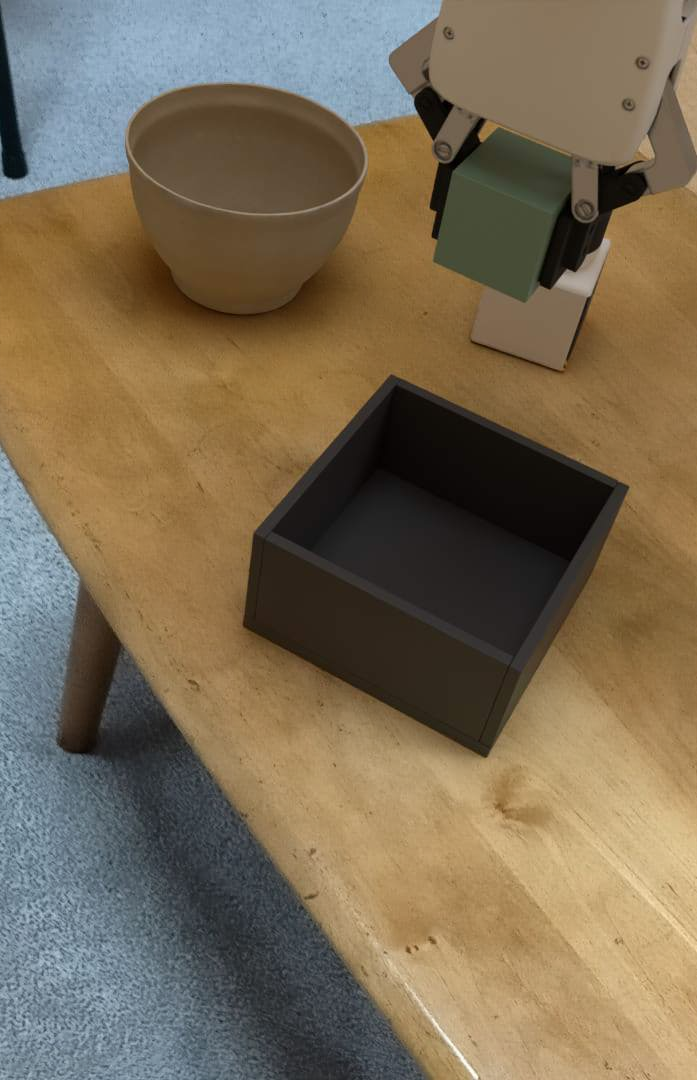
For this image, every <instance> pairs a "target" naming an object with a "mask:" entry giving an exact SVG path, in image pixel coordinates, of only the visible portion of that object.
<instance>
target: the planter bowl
mask: <svg viewBox="0 0 697 1080" xmlns="http://www.w3.org/2000/svg"><path fill="white" fill-rule="evenodd" d="M124 149H125V156H126V159H127V163H128V170H129V180H130V187H131V193H132V198H133V202H134V206H135V209H136V213H137V216H138V218H139V220H140V223H141V225H142V227H143V230H144V232H145V234H146V236H147V238H148V240H149V241H150V244H151V245H152V247H153V248H154V250H155V251H156V253H157V254H158V256H159V257H160V258H161V260H162V261H163V262H164V264H165V265H166V266H167V267H168V268H169V269H170V274H171V277H172V279H173V280H172V281H174V284H175V285H176V287H178V289H179V290H180V291H181V293H182V294H184V295H185V296H186V297H188V298H189V299H190V300H191V301H194V302H195V303H197V304H199V305H201V306H203V307H205V308H208V309H211V310H213V311H217V312H221V313H227V314H233V315H254V314H262V313H266V312H267V313H268V312H270V311H274V310H277V309H279V308H281V307H283V306H284V305H287V304H289V302H291V301H292V300H293V299H294V298H295V297H296V296H297V294H298V293H299V291H300V290H301V287H302V285H303V284H304V283H305V282H306V281H308V280H309V279H310V278H312V277H313V275H315V274H316V273H317V272H318V271H319V270H320V269H321V268H322V267H323V265H324V264H325V263H327V261H328V260H329V259H330V257H331V256H332V255H333V254H334V253H335V251H336V250H337V248H338V247H339V245H340V243H341V242H342V240H343V238H344V237H345V234H346V233H347V231H348V229H349V226H350V224H351V221H352V220H353V217H354V213H355V211H356V207H357V205H358V201H359V196H360V192H361V190H362V188H363V185H364V184H365V181H366V177H367V174H368V169H369V154H368V153H369V152H368V149H367V145H366V144H365V142H364V140H363V138H362V137H361V135H360V134H359V132H358V131H357V130H356V128H355V127H354V126H353V125H351V123H349V122H348V121H347V120H346V119H345V118H344V117H342V116H341V115H340V114H339V113H337V112H336V111H334V110H333V109H331V108H329V107H327V106H326V105H324V104H322V103H321V102H319V101H316V100H315V99H312V98H310V97H307V96H305V95H302V94H299V93H298V92H297V93H296V92H293V91H291V90H287V89H283V88H279V87H273V86H270V85H265V84H260V83H254V82H253V83H252V82H251V83H250V82H238V81H237V82H235V81H221V82H220V81H218V82H203V83H196V84H189V85H184V86H178V87H176V88H172V89H169V90H166V91H163V92H161V93H159V94H158V95H155V96H154V97H152V98H150V99H149V100H147V101H145V102H144V103H142V105H140V106H139V107H138V108H137V109H136V111H135V112H134V113H133V114H132V116H131V117H130V118H129V121H128V123H127V124H126V127H125V132H124Z"/></svg>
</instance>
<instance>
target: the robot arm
mask: <svg viewBox="0 0 697 1080" xmlns="http://www.w3.org/2000/svg"><path fill="white" fill-rule="evenodd" d="M696 25H697V0H442V1H441V5H440V9H439V12H438V16H437V17H435V18H434V19H433V20H432V21H430V22H429V23H428V24H426V25H425V26H424V27H422V28H421V29H419V30H418V31H416V33H414V34H413V35H412V36H410V37H409V38H408V39H407V40H405V41H403V43H401V44H400V45H399V46H398V47H396V48H395V49H393V50H392V51H391V53H390V54H389V56H388V64H389V67H390V69H391V71H393V73H394V75H395V76H396V77H397V79H398V80H399V82H400V84H401V85H402V86H403V88H404V89H405V91H406V92H407V94H408V96H412V98H413V107H414V109H415V111H416V113H417V115H418V117H419V118H420V120H421V122H422V124H423V125H424V128H425V129H426V131H427V133H428V134H429V137H430V139H431V140H432V144H431V149H430V150H431V153H432V156H433V158H434V159H435V160H436V161H437V162H438V164H437V169H436V173H435V177H434V182H433V183H434V184H433V186H432V192H431V197H430V202H429V209H430V210H431V211H433V212H435V217H434V221H433V226H432V230H431V236H430V237H431V238H432V239H433V240H436V241H437V240H438V235H439V231H440V226H441V222H442V217H443V213H444V208H445V204H446V199H447V195H448V190H449V186H450V181H451V177H452V172H453V171H454V170H455V169H456V168H457V167H458V166H459V165H460V164H461V163H462V162H463V161H464V160H465V159H466V158H467V157H468V156H469V155H470V154H471V153H472V152H473V151H474V150H475V149H476V148H477V147H478V146H479V145H480V144H481V143H482V142H483V141H481V139H480V137H479V135H480V133H481V132H482V131H483V128H484V127H485V125H486V123H487V121H489V122H491V123H494V124H496V125H499V126H501V127H502V128H504V129H505V128H506V129H507V130H509V131H513V132H515V133H516V134H517V133H518V134H520V135H521V136H524V137H526V138H530V139H531V140H535V141H537V142H538V143H539V142H540V143H542V144H544V145H546V146H548V147H552V148H554V149H557V150H559V151H561V152H565V153H566V154H569V155H570V157H571V198H570V201H569V204H568V205H567V206H566V207H565V208H564V210H563V211H562V212H561V213H560V214H559V216H558V218H557V220H556V223H555V226H554V229H553V233H552V236H551V239H550V243H549V246H548V249H547V252H546V256H545V259H544V262H543V266H542V269H541V272H540V275H539V279H538V282H540V286H542V287H544V288H546V289H549V290H551V289H552V287H553V286H554V285H555V284H556V282H557V281H558V280H559V278H560V277H561V276H562V275H563V273H564V272H565V271H566V270H567V269H568V270H571V271H573V272H576V271H577V270H578V269H579V268H580V266H581V265H582V263H583V262H584V260H585V258H586V255H587V253H588V250H589V247H590V244H591V241H592V238H593V235H594V232H595V229H596V226H597V223H598V220H599V217H600V215H601V214H604V213H606V212H609V211H612V210H613V211H614V210H616V209H619V208H622V207H624V206H627V205H629V204H633V203H635V202H637V201H638V200H640V199H641V198H642V197H646V196H649V195H650V196H654V195H658V194H662V193H665V192H669V191H673V190H676V189H680V188H683V187H686V186H687V185H688V184H689V183H690V182H691V181H692V179H693V178H694V177H695V175H696V174H697V152H696V149H695V146H694V143H693V139H692V137H691V134H690V131H689V128H688V126H687V123H686V120H685V117H684V114H683V111H682V109H681V105H680V102H679V100H678V97H677V94H676V93H677V90H678V86H679V84H680V80H681V77H682V73H683V71H684V66H685V63H686V61H687V56H688V52H689V50H690V45H691V42H692V38H693V36H694V35H693V34H694V31H695V28H696ZM646 137H648V140H649V144H650V145H651V149H652V151H653V154H654V157H652V158H651V159H648V160H644V159H643V160H642V159H640V160H635V161H634V162H633V161H632V160H633V159H634V158H635V156H636V154H637V153H638V151H639V149H640V146H641V144H642V142H643V141H644V140H645V139H646ZM630 162H631V163H630ZM620 166H621V167H620ZM613 211H612V212H613Z"/></svg>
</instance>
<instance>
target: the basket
mask: <svg viewBox="0 0 697 1080" xmlns="http://www.w3.org/2000/svg"><path fill="white" fill-rule="evenodd" d="M629 489H630V486H629V485H628V484H627V483H624V482H622V481H619V480H618V479H616V478H613V476H612V477H611V476H610V475H608V474H606V473H603V472H601V471H599V470H597V469H595V468H592V467H590V466H588V465H587V464H584V463H582V462H581V461H577V460H576V459H573V458H572V457H569V456H567V455H566V454H563V453H561V452H559V451H557V450H554V449H553V448H550V447H548V446H546V445H544V444H542V443H540V442H538V441H536V440H533V439H531V438H529V437H527V436H524V435H522V434H521V433H518V432H516V431H514V430H512V429H511V428H508V427H506V426H503V425H501V424H500V423H497V422H495V421H493V420H491V419H488V418H486V417H485V416H482V415H480V414H478V413H476V412H473V411H472V410H469V409H467V408H465V407H463V406H461V405H459V404H457V403H454V402H453V401H451V400H448V399H446V398H444V397H442V396H441V395H437V394H435V393H433V392H431V391H429V390H427V389H425V388H423V387H420V386H418V385H416V384H414V383H412V382H410V381H408V380H406V379H404V378H400V377H399V376H397V375H394V374H392V373H391V374H389V375H388V377H387V378H386V379H385V380H384V381H383V383H382V384H381V385H380V386H379V387H378V389H376V390H375V392H374V393H373V394H372V396H371V397H369V399H368V400H367V401H366V402H365V403H364V405H362V407H361V408H360V409H359V410H358V412H357V413H356V414H355V415H354V416H353V417H352V418H351V420H349V422H348V423H347V424H346V426H345V427H344V428H343V429H342V430H341V431H340V432H339V433H338V434H337V436H336V437H335V438H334V439H333V440H332V441H331V443H330V444H329V445H328V446H327V447H326V448H325V450H324V451H323V452H322V453H321V454H320V455H319V457H317V459H316V460H315V461H314V462H313V463H312V465H310V467H309V468H308V469H307V470H306V471H305V473H304V474H303V475H302V476H301V477H300V478H299V479H298V481H297V482H296V483H295V484H294V485H293V487H292V488H291V489H290V490H289V491H288V492H287V494H285V496H284V497H283V498H282V499H281V500H280V501H279V503H278V504H277V505H276V506H275V507H274V508H273V509H272V511H271V512H270V513H269V514H268V515H267V516H266V518H265V519H264V520H263V521H262V522H261V523H260V524H259V526H258V527H257V528H256V529H255V530H254V531H253V533H252V542H251V551H250V560H249V569H248V576H247V577H248V578H247V587H246V596H245V597H246V598H245V604H244V614H243V621H242V626H243V627H244V628H246V629H248V630H250V631H252V632H254V633H255V634H257V635H259V636H261V637H262V638H265V639H266V640H268V641H270V642H272V643H274V644H276V645H278V646H279V647H281V648H283V649H285V650H287V651H289V652H290V653H292V654H294V655H296V656H297V657H300V658H301V659H303V660H305V661H307V662H309V663H311V664H312V665H315V666H316V667H317V668H320V669H322V670H323V671H326V672H327V673H329V674H331V675H333V676H335V677H336V678H338V679H340V680H342V681H344V682H345V683H347V684H350V685H351V686H353V687H355V688H356V689H359V690H360V691H362V692H364V693H366V694H367V695H370V696H371V697H373V698H375V699H377V700H379V701H380V702H383V703H385V704H386V705H389V706H390V707H391V708H393V709H396V710H397V711H399V712H401V713H402V714H405V715H407V716H408V717H410V718H412V719H414V720H416V721H417V722H419V723H421V724H423V725H424V726H427V727H429V728H430V729H432V730H435V731H436V732H437V733H439V734H441V735H443V736H445V737H447V738H449V739H450V740H452V741H454V742H456V743H458V744H460V745H462V746H463V747H466V748H467V749H469V750H471V751H473V752H474V753H477V754H479V755H480V756H482V757H484V758H488V756H489V754H490V753H491V751H492V750H493V748H494V746H495V744H496V743H497V740H498V739H499V737H500V735H501V734H502V732H503V730H504V728H505V727H506V725H507V723H508V721H509V720H510V718H511V716H512V714H513V713H514V711H515V709H516V707H517V705H518V704H519V702H520V700H521V698H522V697H523V695H524V693H525V691H526V689H528V687H529V685H530V683H531V681H532V679H533V677H534V675H535V674H536V673H537V670H538V669H539V667H540V666H541V663H542V662H543V660H544V658H545V657H546V655H547V653H548V651H549V649H550V647H551V646H552V644H553V642H554V641H555V639H556V637H557V635H558V634H559V632H560V630H561V628H562V627H563V625H564V623H565V622H566V620H567V618H568V616H569V614H570V613H571V611H572V609H573V607H574V606H575V604H576V603H577V601H578V599H579V597H580V595H581V594H582V592H583V590H584V589H585V587H586V584H587V583H588V581H589V579H590V578H591V575H592V573H593V571H594V569H595V567H596V564H597V562H598V561H599V557H600V555H601V553H602V551H603V549H604V546H605V544H606V542H607V540H608V538H609V535H610V533H611V530H612V528H613V526H614V523H615V521H616V519H617V518H618V517H617V516H618V514H619V512H620V510H621V507H622V505H623V503H624V501H625V498H626V496H627V494H628V491H629Z"/></svg>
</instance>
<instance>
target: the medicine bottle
mask: <svg viewBox="0 0 697 1080" xmlns="http://www.w3.org/2000/svg"><path fill="white" fill-rule="evenodd" d="M613 211H614V210H612V211H609V212H606V213H604V214H601V215H600V217H599V220H598V223H597V226H596V229H595V232H594V235H593V238H592V241H591V244H590V247H589V250H588V253H587V255H586V258H585V260H584V262H583V263H582V265H581V266H580V268H579V269H578V270H577V271H576V272H573V271H571V270H568V269H567V270H566V271H565V272H564V273H563V275H562V276H561V277H560V278H559V280H558V281H557V282H556V284H555V285H554V286H553V287H552V289H551V290H549V289H546V288H544V287H542V286H539V287H538V288H537V290H536V291H535V292H534V293H533V294H532V296H531V297H530V298H529V299H528V301H527V302H526V303H524V302H521V301H519V300H517V299H515V298H512V297H510V296H508V295H506V294H503V293H501V292H499V291H497V290H495V289H492V288H490V287H488V286H486V285H483V289H482V292H481V297H480V300H479V303H478V307H477V311H476V315H475V319H474V321H473V326H472V330H471V334H470V340H471V341H472V342H474V343H477V344H480V345H482V346H486V347H488V348H491V349H494V350H497V351H500V352H503V353H506V354H509V355H512V356H515V357H517V358H521V359H523V360H527V361H529V362H533V363H535V364H537V365H542V366H544V367H547V368H550V369H553V370H556V371H560V372H563V371H565V369H566V368H567V365H568V363H569V361H570V359H571V356H572V353H573V351H574V349H575V346H576V343H577V341H578V338H579V336H580V332H581V331H582V327H583V325H584V323H585V320H586V318H587V315H588V312H589V308H590V306H591V303H592V300H593V298H594V295H595V292H596V289H597V286H598V283H599V280H600V277H601V274H602V271H603V268H604V266H605V263H606V260H607V257H608V256H609V255H608V254H609V252H610V249H611V245H612V241H611V240H610V239H609V238H607V237H605V234H606V232H607V229H608V226H609V224H610V223H609V222H610V220H611V217H612V215H613Z"/></svg>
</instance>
